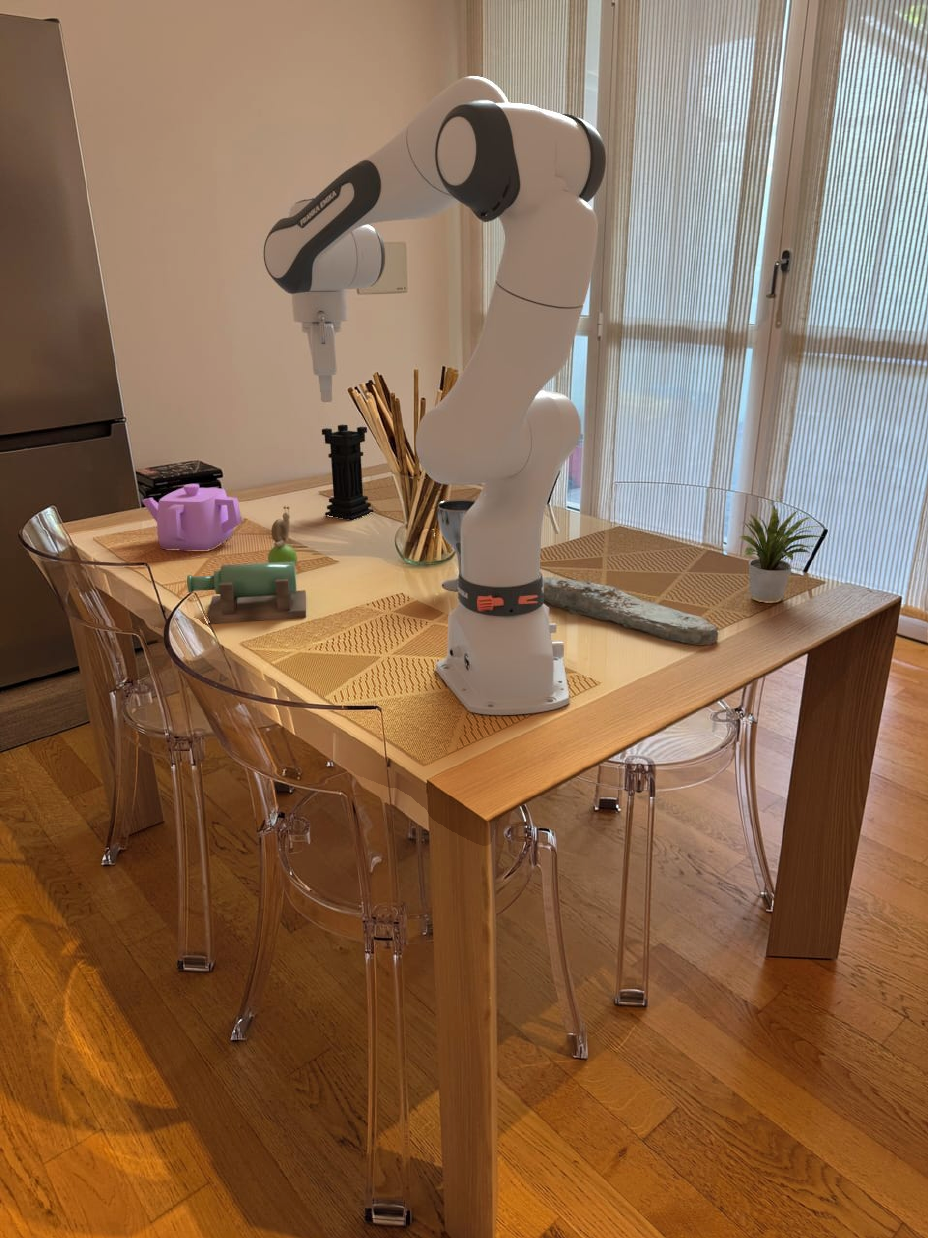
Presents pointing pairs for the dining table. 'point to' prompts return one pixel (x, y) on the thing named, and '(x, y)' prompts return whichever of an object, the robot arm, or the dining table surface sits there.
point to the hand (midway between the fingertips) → (326, 397)
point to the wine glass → (453, 529)
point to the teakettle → (194, 517)
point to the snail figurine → (281, 541)
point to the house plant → (772, 556)
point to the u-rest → (256, 605)
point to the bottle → (247, 579)
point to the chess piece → (346, 473)
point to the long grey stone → (628, 611)
